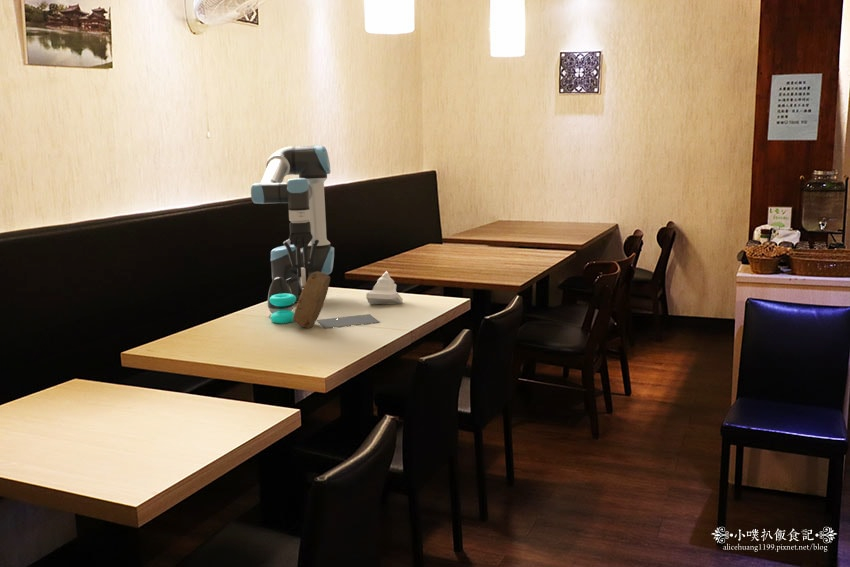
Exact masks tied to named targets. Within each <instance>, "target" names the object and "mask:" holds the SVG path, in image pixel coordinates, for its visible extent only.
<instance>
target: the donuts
mask: <svg viewBox="0 0 850 567" xmlns="http://www.w3.org/2000/svg"><path fill="white" fill-rule="evenodd" d="M269 301H270V303H271V304H272V305H275V306H288V305H291V304H293V303H294V302H295V301H296V297H295V295H293V294H288V293H283V294H276V295H273V296H271V297H270V299H269ZM295 303H296V302H295ZM295 303H294V304H295ZM294 312H295V311H293V310H292V311H289V310H282V311H277V312H275V313H273V314H272V313H271V315H270V320H271V322H273V323H274V322H275V323H274V324H289V322H290V323H293V322H294V321H293V316H294Z"/></svg>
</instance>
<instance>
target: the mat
mask: <svg viewBox="0 0 850 567" xmlns="http://www.w3.org/2000/svg"><path fill="white" fill-rule="evenodd" d="M337 318H338V320H336V319H337ZM316 322H318V324H320V325H321V327H323V328H324V329H325V328H329V329H334V328H333V327H338V328H343V327H342V326H347V327H352V326H351V325H356V326H362V325H361V324H364V325H371V323H373V324H380V323H379V322H380V320H378V319H377V318H376V317H374V316H373V315H371V314H370V313H368V314H359V315H349V316H347V315H346V316H341V317H339V316H338V317H330V318H322V319H321V318H320V319H319V318H318V319H317V320H316Z"/></svg>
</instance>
